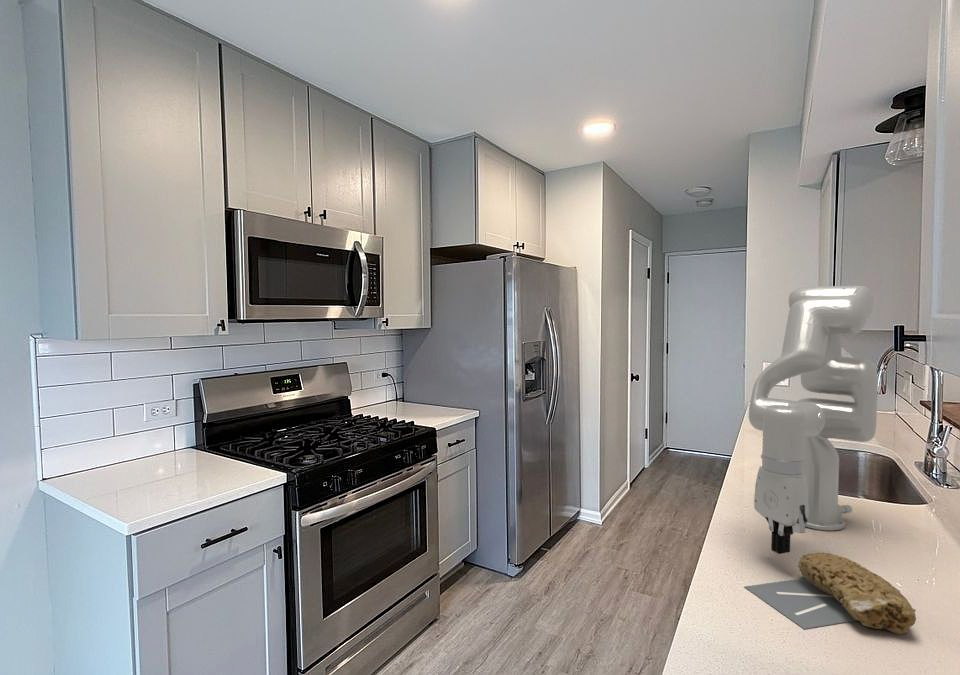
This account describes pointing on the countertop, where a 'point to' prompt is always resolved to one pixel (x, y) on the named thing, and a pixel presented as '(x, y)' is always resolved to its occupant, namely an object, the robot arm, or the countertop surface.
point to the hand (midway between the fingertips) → (780, 551)
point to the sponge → (859, 591)
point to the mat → (802, 603)
